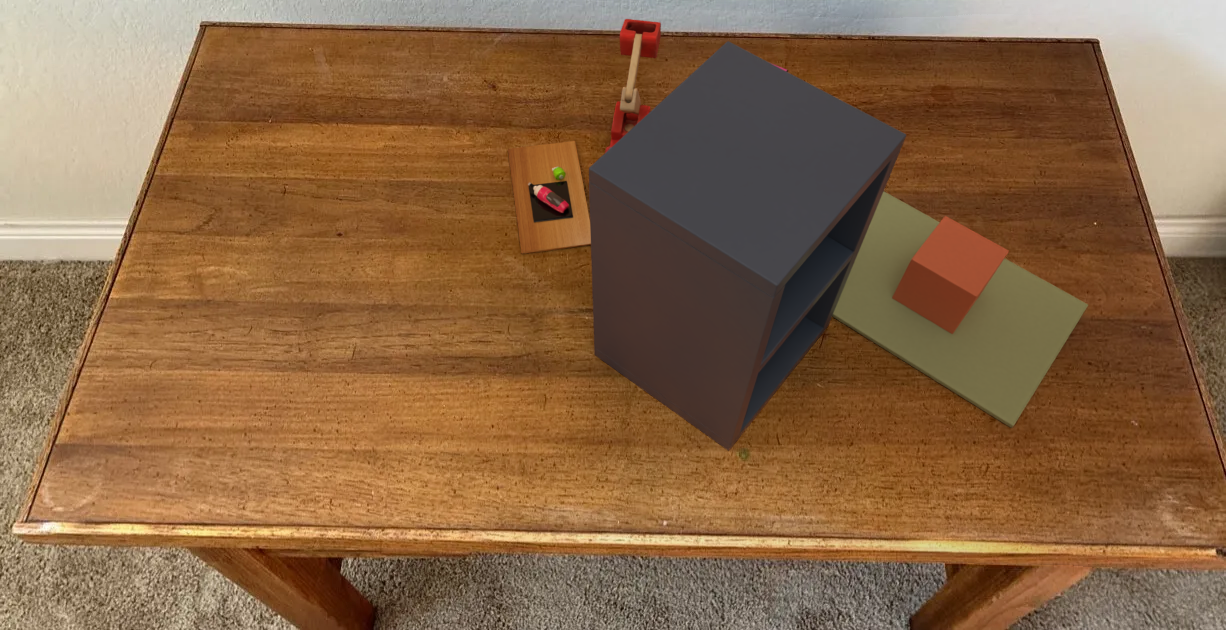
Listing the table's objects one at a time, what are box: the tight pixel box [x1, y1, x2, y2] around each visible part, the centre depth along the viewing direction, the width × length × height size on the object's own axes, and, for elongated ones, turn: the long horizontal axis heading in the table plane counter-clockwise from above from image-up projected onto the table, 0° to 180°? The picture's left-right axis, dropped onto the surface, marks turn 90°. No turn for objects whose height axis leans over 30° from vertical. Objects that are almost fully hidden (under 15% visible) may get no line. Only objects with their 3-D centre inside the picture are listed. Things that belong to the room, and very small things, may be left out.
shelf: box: [588, 40, 907, 452], centre depth 60 cm, size 13×14×22 cm
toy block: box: [892, 215, 1010, 334], centre depth 69 cm, size 6×6×6 cm
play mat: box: [832, 190, 1089, 429], centre depth 71 cm, size 20×14×1 cm
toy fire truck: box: [604, 18, 662, 154], centre depth 76 cm, size 3×14×10 cm, turn 171°
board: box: [507, 140, 591, 255], centre depth 76 cm, size 6×12×2 cm, turn 9°
